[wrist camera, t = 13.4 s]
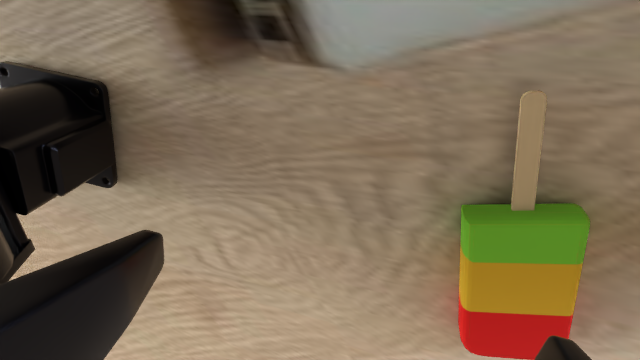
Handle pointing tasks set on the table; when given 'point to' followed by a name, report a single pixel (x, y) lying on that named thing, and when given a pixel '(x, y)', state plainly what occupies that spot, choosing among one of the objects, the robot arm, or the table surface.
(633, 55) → the table surface
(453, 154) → the table surface
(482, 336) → the popsicle
